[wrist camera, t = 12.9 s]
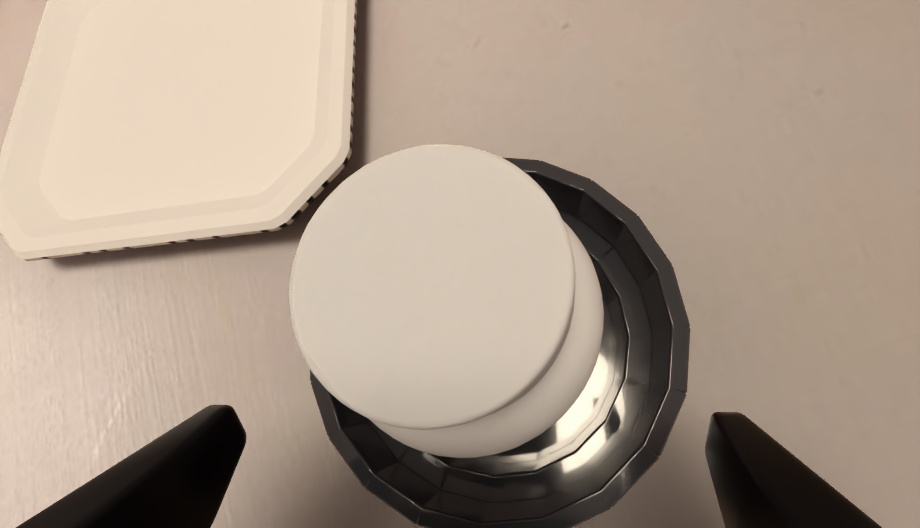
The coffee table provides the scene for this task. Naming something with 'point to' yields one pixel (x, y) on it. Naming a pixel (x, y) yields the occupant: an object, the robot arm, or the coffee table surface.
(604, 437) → the dish
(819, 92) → the coffee table surface
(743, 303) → the coffee table surface
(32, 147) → the plate
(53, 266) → the coffee table surface
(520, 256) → the pill bottle
